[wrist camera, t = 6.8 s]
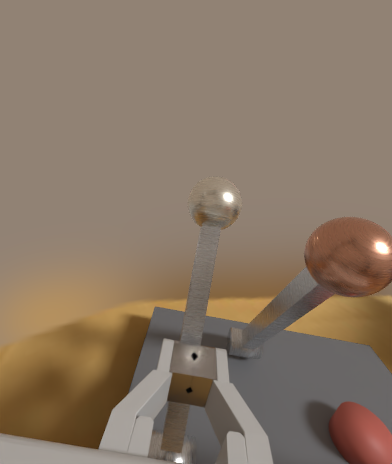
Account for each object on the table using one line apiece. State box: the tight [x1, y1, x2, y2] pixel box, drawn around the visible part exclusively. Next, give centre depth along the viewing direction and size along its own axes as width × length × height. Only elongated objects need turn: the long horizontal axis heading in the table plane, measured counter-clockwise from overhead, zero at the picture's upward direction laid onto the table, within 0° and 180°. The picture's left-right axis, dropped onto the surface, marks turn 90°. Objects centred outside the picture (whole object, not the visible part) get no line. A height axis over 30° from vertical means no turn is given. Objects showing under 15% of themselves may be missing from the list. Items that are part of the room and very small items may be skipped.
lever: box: [147, 177, 242, 464], centre depth 12 cm, size 3×3×16 cm
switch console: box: [128, 307, 392, 464], centre depth 16 cm, size 22×16×4 cm
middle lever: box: [227, 217, 392, 360], centre depth 14 cm, size 3×3×16 cm
